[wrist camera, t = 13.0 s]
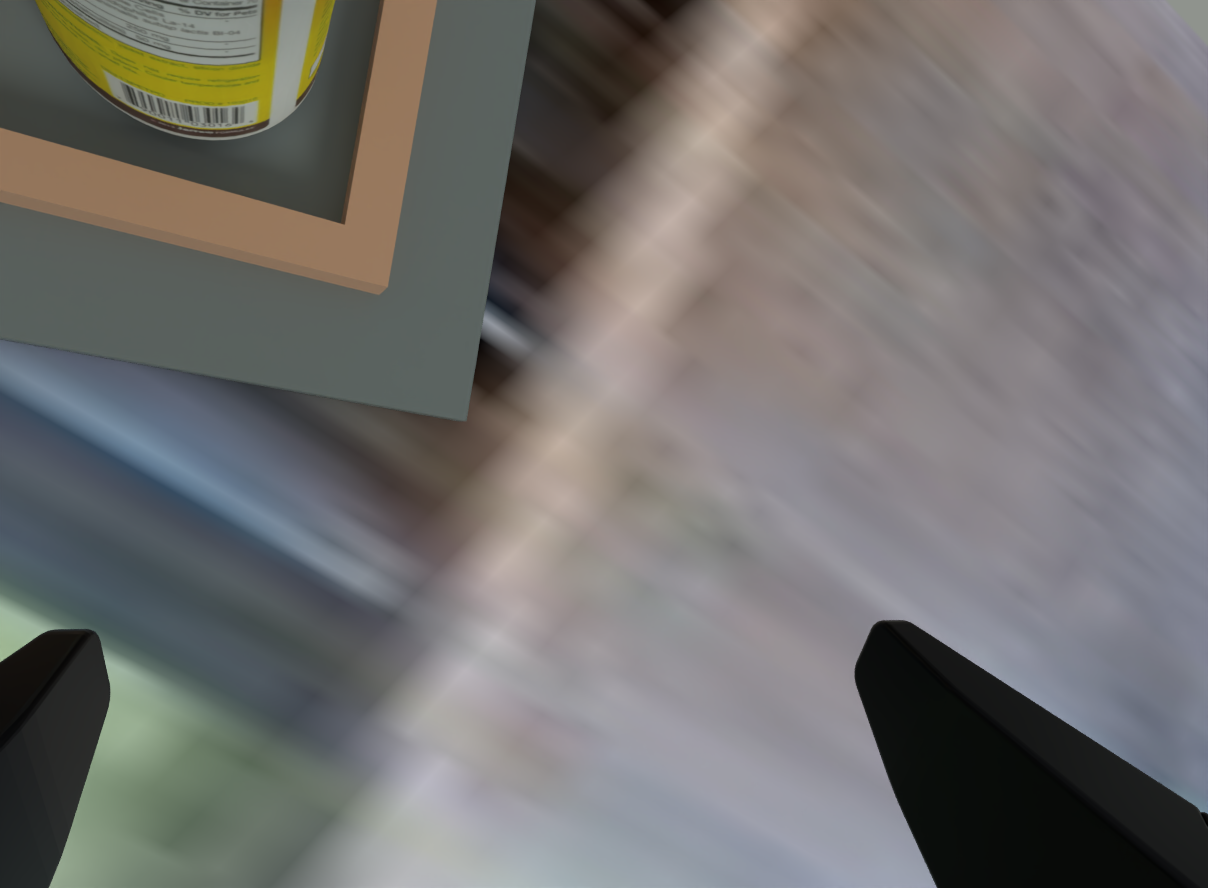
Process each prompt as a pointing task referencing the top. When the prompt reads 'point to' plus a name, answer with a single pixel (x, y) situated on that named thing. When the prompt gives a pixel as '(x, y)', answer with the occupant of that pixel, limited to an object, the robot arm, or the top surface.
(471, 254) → the dock
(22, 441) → the top surface
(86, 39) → the supplement bottle
